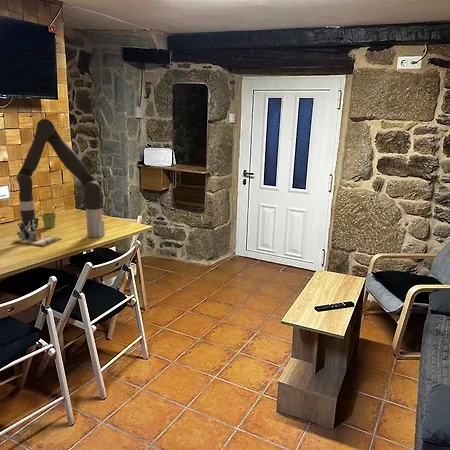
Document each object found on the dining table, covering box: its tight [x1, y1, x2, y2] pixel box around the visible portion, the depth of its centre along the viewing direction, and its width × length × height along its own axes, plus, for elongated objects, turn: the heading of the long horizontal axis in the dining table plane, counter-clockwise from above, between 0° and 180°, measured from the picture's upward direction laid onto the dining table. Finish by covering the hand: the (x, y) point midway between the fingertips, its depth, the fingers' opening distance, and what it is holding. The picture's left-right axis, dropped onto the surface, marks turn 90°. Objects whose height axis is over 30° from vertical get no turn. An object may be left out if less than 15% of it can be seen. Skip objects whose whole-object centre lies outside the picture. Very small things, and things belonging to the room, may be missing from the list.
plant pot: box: [40, 212, 57, 229], centre depth 271 cm, size 9×9×9 cm
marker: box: [16, 230, 42, 240], centre depth 243 cm, size 14×4×4 cm, turn 73°
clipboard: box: [14, 235, 62, 247], centre depth 243 cm, size 20×15×2 cm
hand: (30, 237), depth 243 cm, fingers closed on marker, 4 cm apart
